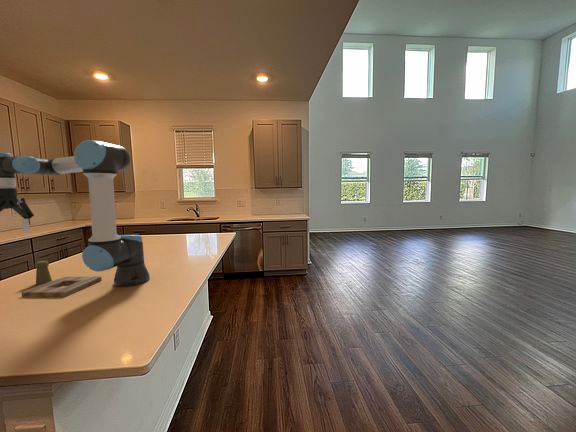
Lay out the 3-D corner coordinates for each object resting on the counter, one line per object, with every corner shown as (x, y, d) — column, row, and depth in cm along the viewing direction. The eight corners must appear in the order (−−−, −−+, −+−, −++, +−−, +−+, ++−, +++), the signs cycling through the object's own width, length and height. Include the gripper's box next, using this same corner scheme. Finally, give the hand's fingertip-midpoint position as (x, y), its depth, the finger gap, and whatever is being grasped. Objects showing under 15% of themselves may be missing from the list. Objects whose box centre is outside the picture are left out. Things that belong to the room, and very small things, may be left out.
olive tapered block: (42, 285, 128) (39, 263, 127) (32, 284, 129) (29, 262, 128) (55, 280, 134) (52, 259, 133) (45, 280, 135) (43, 259, 134)
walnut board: (101, 280, 132) (101, 276, 132) (64, 296, 112) (64, 292, 112) (64, 280, 134) (64, 276, 134) (21, 296, 114) (21, 292, 114)
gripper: (25, 188, 131) (31, 230, 133) (-39, 188, 106) (-31, 240, 108) (40, 187, 130) (45, 230, 133) (-22, 187, 106) (-14, 239, 108)
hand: (11, 234), depth 120 cm, fingers open, 13 cm apart
